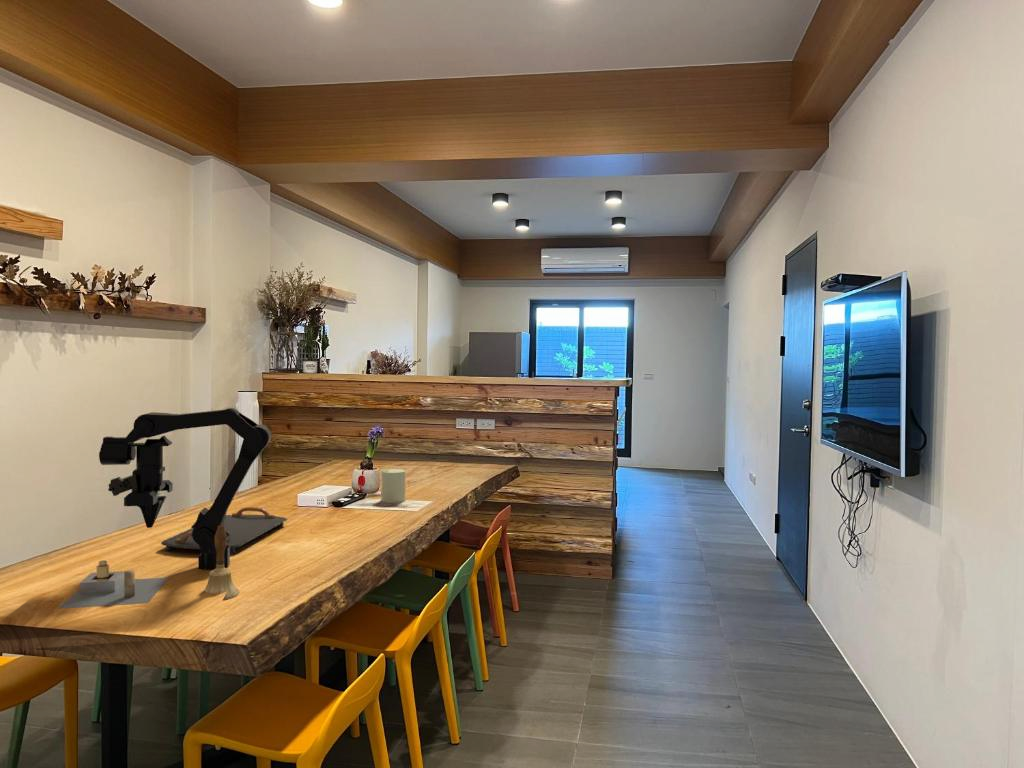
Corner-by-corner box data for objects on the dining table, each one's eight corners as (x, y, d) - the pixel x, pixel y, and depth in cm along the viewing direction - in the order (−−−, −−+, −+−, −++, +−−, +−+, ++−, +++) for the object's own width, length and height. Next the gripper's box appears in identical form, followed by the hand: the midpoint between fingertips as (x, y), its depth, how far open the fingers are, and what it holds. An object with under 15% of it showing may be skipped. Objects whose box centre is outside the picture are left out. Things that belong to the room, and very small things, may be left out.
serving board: (232, 559, 180) (233, 536, 180) (151, 555, 182) (151, 533, 182) (292, 524, 219) (292, 505, 218) (225, 521, 221) (225, 503, 220)
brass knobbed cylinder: (110, 585, 152) (110, 559, 152) (106, 589, 150) (106, 562, 150) (98, 586, 152) (98, 560, 152) (95, 589, 149) (94, 563, 149)
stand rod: (136, 594, 147) (136, 569, 147) (133, 597, 145) (133, 572, 145) (126, 595, 147) (125, 570, 146) (123, 598, 145) (122, 573, 144)
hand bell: (244, 588, 156) (245, 521, 156) (231, 601, 148) (231, 530, 148) (208, 588, 156) (209, 520, 156) (193, 601, 148) (193, 529, 147)
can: (379, 498, 259) (380, 467, 259) (403, 497, 262) (403, 467, 261) (382, 503, 250) (382, 471, 250) (407, 502, 253) (407, 471, 253)
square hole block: (125, 581, 155) (125, 571, 155) (114, 592, 148) (114, 580, 148) (91, 583, 154) (91, 572, 153) (79, 594, 147) (79, 582, 147)
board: (169, 583, 159) (169, 577, 159) (147, 609, 142) (147, 602, 142) (89, 588, 155) (89, 581, 155) (57, 615, 138) (57, 608, 138)
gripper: (125, 459, 170) (125, 519, 171) (98, 471, 152) (99, 539, 153) (173, 458, 173) (173, 518, 174) (152, 470, 155) (152, 536, 155)
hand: (149, 527), depth 164 cm, fingers closed
